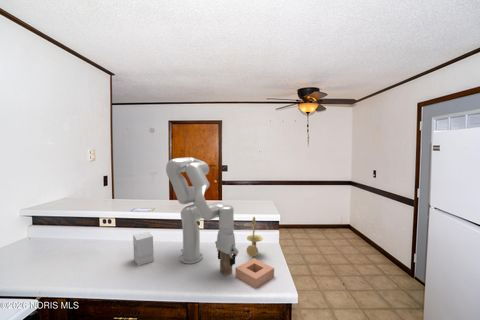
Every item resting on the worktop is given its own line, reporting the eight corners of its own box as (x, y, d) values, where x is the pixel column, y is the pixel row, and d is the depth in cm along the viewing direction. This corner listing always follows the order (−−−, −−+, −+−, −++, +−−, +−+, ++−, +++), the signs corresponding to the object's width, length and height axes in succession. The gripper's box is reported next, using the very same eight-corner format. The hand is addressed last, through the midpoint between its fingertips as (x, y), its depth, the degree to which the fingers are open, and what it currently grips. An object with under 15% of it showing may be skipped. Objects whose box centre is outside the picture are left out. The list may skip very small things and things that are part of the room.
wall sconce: (260, 263, 136) (261, 220, 134) (244, 261, 138) (244, 219, 136) (263, 252, 150) (263, 213, 148) (248, 250, 152) (248, 211, 149)
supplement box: (149, 255, 145) (149, 231, 144) (154, 261, 138) (153, 236, 136) (133, 259, 140) (132, 234, 138) (137, 266, 132) (136, 239, 131)
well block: (235, 276, 123) (235, 267, 123) (253, 266, 133) (253, 258, 133) (255, 288, 114) (255, 279, 113) (274, 276, 123) (274, 268, 123)
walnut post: (220, 272, 127) (220, 248, 126) (226, 269, 130) (226, 245, 129) (225, 275, 124) (225, 251, 123) (232, 272, 127) (232, 248, 126)
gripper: (210, 227, 129) (210, 258, 130) (232, 236, 116) (232, 270, 118) (221, 223, 134) (221, 253, 135) (243, 232, 122) (243, 265, 123)
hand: (226, 261), depth 126 cm, fingers open, 9 cm apart
